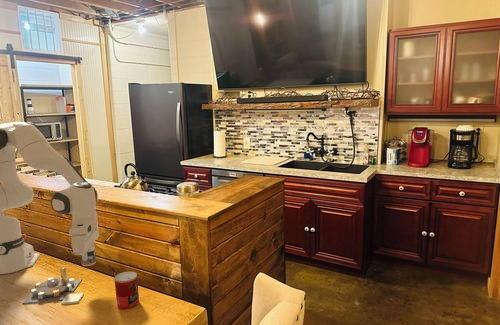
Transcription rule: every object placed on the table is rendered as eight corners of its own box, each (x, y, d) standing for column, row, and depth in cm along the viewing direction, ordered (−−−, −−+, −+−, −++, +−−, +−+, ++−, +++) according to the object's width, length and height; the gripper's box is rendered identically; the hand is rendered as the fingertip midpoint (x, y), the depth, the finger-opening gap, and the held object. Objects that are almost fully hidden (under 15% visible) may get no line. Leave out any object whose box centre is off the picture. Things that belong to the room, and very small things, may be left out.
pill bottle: (80, 267, 137) (78, 245, 136) (83, 261, 142) (81, 240, 141) (95, 265, 139) (93, 244, 137) (97, 260, 144) (95, 239, 142)
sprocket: (29, 288, 142) (27, 267, 141) (70, 277, 151) (67, 257, 150) (34, 303, 130) (31, 280, 129) (77, 290, 139) (75, 268, 138)
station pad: (67, 296, 137) (67, 294, 137) (83, 294, 138) (83, 293, 137) (61, 304, 131) (61, 302, 131) (78, 303, 132) (78, 301, 132)
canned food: (132, 310, 126) (130, 281, 124) (112, 308, 127) (109, 280, 126) (143, 299, 133) (141, 271, 131) (124, 297, 135) (121, 270, 133)
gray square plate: (41, 283, 148) (41, 282, 148) (83, 280, 150) (82, 278, 150) (22, 304, 132) (22, 302, 132) (68, 300, 134) (68, 298, 134)
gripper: (85, 215, 148) (88, 246, 150) (67, 232, 128) (70, 268, 130) (101, 214, 149) (103, 246, 151) (85, 231, 128) (88, 267, 131)
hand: (88, 256), depth 140 cm, fingers closed on pill bottle, 5 cm apart
